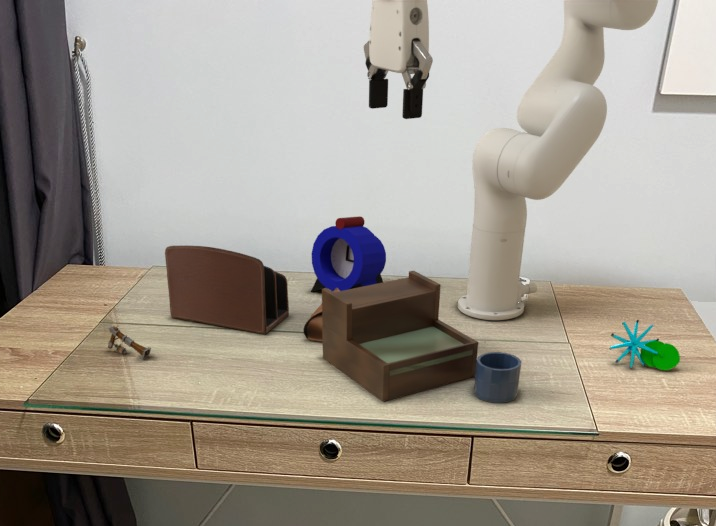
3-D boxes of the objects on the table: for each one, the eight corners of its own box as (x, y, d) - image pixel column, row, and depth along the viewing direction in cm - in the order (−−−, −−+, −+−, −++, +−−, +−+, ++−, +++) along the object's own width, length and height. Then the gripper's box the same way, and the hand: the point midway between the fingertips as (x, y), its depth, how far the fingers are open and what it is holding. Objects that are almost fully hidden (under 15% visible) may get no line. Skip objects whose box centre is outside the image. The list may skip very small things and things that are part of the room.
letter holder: (265, 335, 155) (261, 256, 146) (170, 318, 160) (160, 241, 152) (289, 316, 162) (286, 239, 154) (197, 300, 168) (190, 226, 160)
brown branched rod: (107, 342, 149) (112, 321, 146) (145, 367, 149) (151, 346, 146) (101, 346, 148) (106, 324, 145) (139, 371, 147) (145, 350, 144)
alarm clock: (308, 292, 172) (306, 215, 163) (344, 276, 180) (344, 201, 172) (359, 306, 167) (359, 226, 158) (393, 288, 175) (396, 211, 166)
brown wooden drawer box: (322, 357, 147) (321, 288, 140) (410, 336, 155) (413, 270, 148) (382, 401, 134) (385, 328, 127) (475, 376, 141) (482, 305, 134)
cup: (498, 380, 140) (502, 348, 137) (526, 396, 136) (530, 364, 132) (465, 389, 137) (468, 357, 134) (492, 406, 133) (495, 373, 130)
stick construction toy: (602, 353, 144) (623, 310, 143) (596, 361, 151) (616, 320, 150) (669, 383, 142) (691, 340, 142) (660, 390, 149) (681, 348, 149)
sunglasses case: (349, 342, 151) (330, 308, 148) (316, 357, 154) (297, 325, 151) (374, 306, 165) (356, 275, 162) (343, 321, 168) (326, 290, 166)
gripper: (455, -16, 120) (446, 120, 130) (388, -22, 132) (385, 102, 142) (410, -14, 116) (404, 124, 126) (346, -22, 128) (345, 105, 138)
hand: (394, 112), depth 134 cm, fingers open, 9 cm apart
